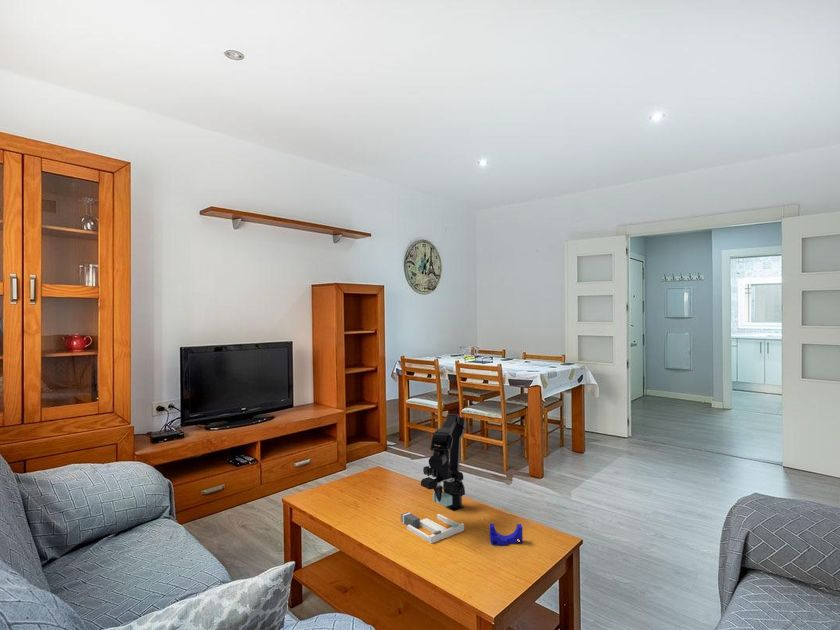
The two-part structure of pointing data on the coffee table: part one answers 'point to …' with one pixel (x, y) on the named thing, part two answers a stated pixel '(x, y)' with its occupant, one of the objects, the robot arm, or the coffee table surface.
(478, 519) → the coffee table surface
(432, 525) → the slot rack
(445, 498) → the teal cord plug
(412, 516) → the dark grey block
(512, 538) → the blue cradle block
